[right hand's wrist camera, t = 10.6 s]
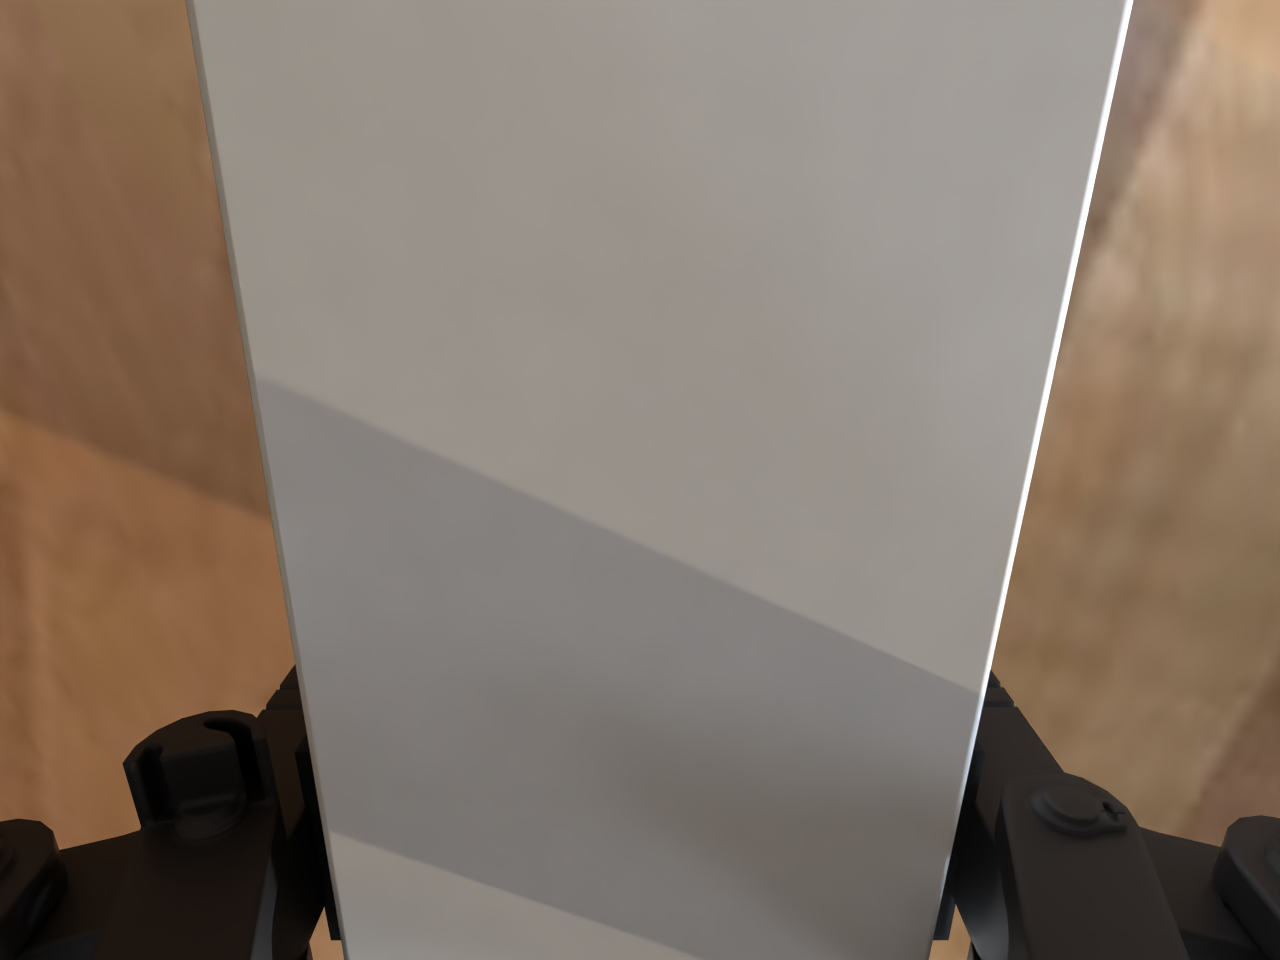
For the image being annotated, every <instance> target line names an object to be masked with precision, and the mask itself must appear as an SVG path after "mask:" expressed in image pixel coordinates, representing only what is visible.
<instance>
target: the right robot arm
mask: <svg viewBox="0 0 1280 960" xmlns="http://www.w3.org/2000/svg"><path fill="white" fill-rule="evenodd" d="M123 766H124V770H125V773H126V777H127V780H128V783H129V787H130V790H131V794H132V797H133V800H134V804H135V807H136V811H137V814H138V817H139V821H140V824H141V829H140V830H139V831H136V832H132V833H129V834H126V835H123V836H119V837H114V838H110V839H106V840H101V841H97V842H93V843H89V844H84V845H80V846H76V847H71V848H67V849H63V850H59V848H58V845H57V842H56V839H55V836H54V833H53V831H52V830H51V829H49V828H48V827H47V826H46V825H44V824H43V823H42V822H41V821H34V820H26V819H14V820H8V821H1V822H0V960H313V958H312V953H311V948H310V943H309V941H310V938H311V936H312V934H313V931H314V929H315V927H316V924H317V922H318V920H319V917H320V915H321V913H322V911H323V908H324V907H325V912H326V917H327V922H328V927H329V932H330V937H331V940H341V936H340V930H339V924H338V918H337V912H336V906H335V900H334V894H333V888H332V881H331V875H330V869H329V863H328V857H327V851H326V845H325V839H324V833H323V827H322V821H321V815H320V809H319V803H318V797H317V791H316V785H315V779H314V773H313V767H312V761H311V755H310V749H309V743H308V737H307V731H306V725H305V719H304V713H303V707H302V701H301V695H300V688H299V682H298V676H297V670H296V664H295V665H294V666H293V668H292V669H291V671H290V672H289V673H288V675H287V676H286V678H285V679H284V680H283V682H282V683H281V685H280V690H276V692H275V693H274V695H273V696H272V697H271V699H270V700H269V702H268V703H267V704H266V710H262V711H261V713H260V714H259V716H258V717H257V718H256V717H255V716H254V715H252V714H249V713H244V712H240V711H235V710H224V711H208V712H205V713H201V714H197V715H193V716H189V717H186V718H182V719H180V720H178V721H176V722H173V723H171V724H169V725H167V726H165V727H163V728H161V729H158V730H156V731H155V732H154V733H152V734H151V735H150V736H148V737H147V738H146V739H144V740H143V741H142V742H140V743H139V744H138V745H136V746H135V747H134V749H133V750H132V751H131V753H130V754H129V755H128V757H127V758H126V759H125V761H124V762H123ZM955 904H956V906H957V908H958V910H959V912H960V915H961V917H962V919H963V922H964V924H965V926H966V928H967V931H968V933H969V935H970V938H971V943H970V948H969V953H968V957H967V960H1280V818H1275V817H1269V816H1263V815H1260V816H1252V817H1244V818H1239V819H1238V820H1237V821H1236V822H1234V823H1233V824H1232V825H1231V826H1229V827H1228V828H1227V831H1226V834H1225V837H1224V840H1223V843H1222V846H1221V847H1218V846H1214V845H1210V844H1205V843H1201V842H1197V841H1193V840H1188V839H1184V838H1180V837H1175V836H1171V835H1167V834H1162V833H1158V832H1155V831H1152V830H1148V829H1145V828H1142V827H1139V826H1138V824H1137V822H1136V821H1135V819H1134V818H1133V816H1132V815H1131V813H1130V812H1129V810H1128V809H1127V807H1126V806H1124V805H1123V804H1122V803H1121V802H1120V801H1118V800H1117V799H1116V798H1115V797H1114V796H1113V795H1111V794H1110V793H1109V792H1108V791H1106V790H1104V789H1102V788H1101V787H1099V786H1097V785H1095V784H1093V783H1091V782H1089V781H1087V780H1085V779H1083V778H1081V777H1077V776H1074V775H1071V774H1067V773H1064V772H1063V770H1062V769H1061V767H1060V766H1059V765H1058V763H1057V762H1056V760H1055V759H1054V758H1053V756H1052V755H1051V753H1050V752H1049V751H1048V749H1047V748H1046V746H1045V745H1044V744H1043V742H1042V741H1041V739H1040V738H1039V737H1038V735H1037V734H1036V732H1035V731H1034V730H1033V728H1032V727H1031V725H1030V724H1029V723H1028V721H1027V720H1026V718H1025V717H1024V716H1023V714H1022V713H1021V711H1020V710H1019V709H1018V707H1014V702H1013V700H1012V699H1011V697H1010V696H1009V695H1008V693H1007V692H1006V690H1005V689H1004V688H1003V687H1000V682H999V681H998V679H997V678H996V676H995V675H994V674H993V672H992V671H991V669H990V673H989V678H988V683H987V687H986V692H985V697H984V702H983V706H982V711H981V716H980V720H979V725H978V730H977V734H976V739H975V744H974V748H973V753H972V758H971V762H970V767H969V772H968V776H967V781H966V786H965V791H964V795H963V800H962V805H961V809H960V814H959V819H958V823H957V828H956V833H955V837H954V842H953V847H952V851H951V856H950V861H949V866H948V870H947V875H946V880H945V884H944V889H943V894H942V898H941V903H940V908H939V912H938V917H937V922H936V926H935V931H934V936H933V940H949V935H950V929H951V924H952V919H953V914H954V909H955Z"/></svg>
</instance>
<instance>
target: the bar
mask: <svg viewBox="0 0 1280 960" xmlns="http://www.w3.org/2000/svg"><path fill="white" fill-rule="evenodd" d="M185 1H186V7H187V13H188V19H189V25H190V31H191V37H192V43H193V49H194V55H195V61H196V67H197V73H198V79H199V85H200V91H201V97H202V103H203V109H204V116H205V122H206V128H207V134H208V140H209V146H210V152H211V158H212V164H213V170H214V176H215V182H216V188H217V194H218V200H219V206H220V212H221V218H222V224H223V230H224V236H225V242H226V248H227V254H228V260H229V266H230V272H231V278H232V284H233V290H234V296H235V302H236V309H237V315H238V321H239V327H240V333H241V339H242V345H243V351H244V357H245V363H246V369H247V375H248V381H249V387H250V393H251V399H252V405H253V411H254V417H255V423H256V429H257V435H258V441H259V447H260V453H261V459H262V465H263V471H264V477H265V483H266V489H267V495H268V502H269V508H270V514H271V520H272V526H273V532H274V538H275V544H276V550H277V556H278V562H279V568H280V574H281V580H282V586H283V592H284V598H285V604H286V610H287V616H288V622H289V628H290V634H291V640H292V646H293V652H294V658H295V664H296V670H297V676H298V682H299V688H300V695H301V701H302V707H303V713H304V719H305V725H306V731H307V737H308V743H309V749H310V755H311V761H312V767H313V773H314V779H315V785H316V791H317V797H318V803H319V809H320V815H321V821H322V827H323V833H324V839H325V845H326V851H327V857H328V863H329V869H330V875H331V881H332V888H333V894H334V900H335V906H336V912H337V918H338V924H339V930H340V936H341V942H342V948H343V954H344V960H928V959H929V955H930V950H931V945H932V941H933V936H934V931H935V926H936V922H937V917H938V912H939V908H940V903H941V898H942V894H943V889H944V884H945V880H946V875H947V870H948V866H949V861H950V856H951V851H952V847H953V842H954V837H955V833H956V828H957V823H958V819H959V814H960V809H961V805H962V800H963V795H964V791H965V786H966V781H967V776H968V772H969V767H970V762H971V758H972V753H973V748H974V744H975V739H976V734H977V730H978V725H979V720H980V716H981V711H982V706H983V702H984V697H985V692H986V687H987V683H988V678H989V673H990V669H991V664H992V659H993V655H994V650H995V645H996V641H997V636H998V631H999V627H1000V622H1001V617H1002V612H1003V608H1004V603H1005V598H1006V594H1007V589H1008V584H1009V580H1010V575H1011V570H1012V566H1013V561H1014V556H1015V552H1016V547H1017V542H1018V537H1019V533H1020V528H1021V523H1022V519H1023V514H1024V509H1025V505H1026V500H1027V495H1028V491H1029V486H1030V481H1031V477H1032V472H1033V467H1034V462H1035V458H1036V453H1037V448H1038V444H1039V439H1040V434H1041V430H1042V425H1043V420H1044V416H1045V411H1046V406H1047V402H1048V397H1049V392H1050V387H1051V383H1052V378H1053V373H1054V369H1055V364H1056V359H1057V355H1058V350H1059V345H1060V341H1061V336H1062V331H1063V327H1064V322H1065V317H1066V312H1067V308H1068V303H1069V298H1070V294H1071V289H1072V284H1073V280H1074V275H1075V270H1076V266H1077V261H1078V256H1079V252H1080V247H1081V242H1082V237H1083V233H1084V228H1085V223H1086V219H1087V214H1088V209H1089V205H1090V200H1091V195H1092V191H1093V186H1094V181H1095V177H1096V172H1097V167H1098V163H1099V158H1100V153H1101V148H1102V144H1103V139H1104V134H1105V130H1106V125H1107V120H1108V116H1109V111H1110V106H1111V102H1112V97H1113V92H1114V88H1115V83H1116V78H1117V73H1118V69H1119V64H1120V59H1121V55H1122V50H1123V45H1124V41H1125V36H1126V31H1127V27H1128V22H1129V17H1130V13H1131V8H1132V3H1133V0H185Z"/></svg>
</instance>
